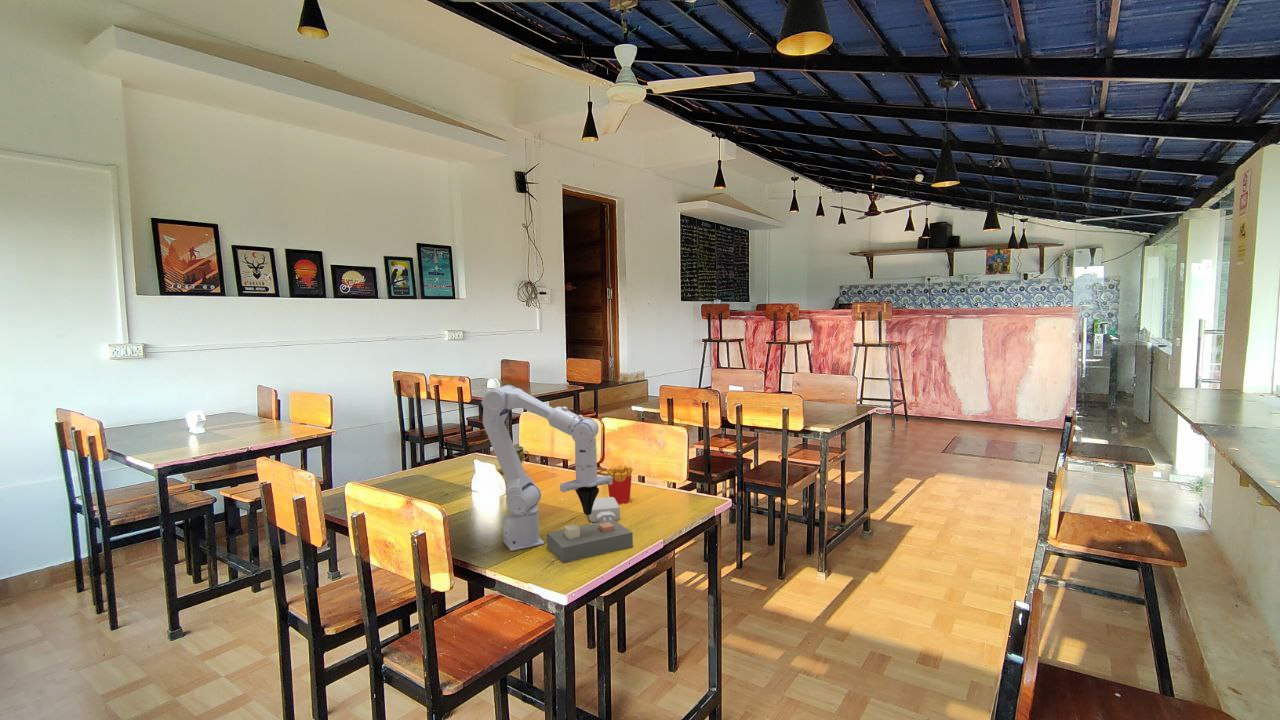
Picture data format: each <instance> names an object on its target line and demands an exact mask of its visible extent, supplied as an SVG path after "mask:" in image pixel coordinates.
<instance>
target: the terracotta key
mask: <svg viewBox="0 0 1280 720" xmlns="http://www.w3.org/2000/svg"><path fill="white" fill-rule="evenodd" d="M598 527H599V530H600V531H601V532H603V533H604V532H608V531H613V530H614V526H613V525H612V524H611V523H609V522H608V523H603V524H598Z"/></svg>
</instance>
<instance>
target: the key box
mask: <svg viewBox="0 0 1280 720" xmlns="http://www.w3.org/2000/svg"><path fill="white" fill-rule="evenodd" d="M608 522H609V523H611V524H612V525H613V526H614V530H613V531H608V532H604V533H603V532H601V531H600V530H599V527H598V524H603V523H608ZM577 526H578V525H577ZM578 527H579V528H580V538H576V539H571V540H568V539H566V538H565V537H564V528H563V529H560V530H553V531H550V532H546V544H547V546H546V547H547V549H549V551H550V552H552V553H553V554H554V556H556V558H557V559H559V560H560V562H562V563H563V564H564V563H569V562H574V561H577V560H581V559H582V560H583V559H586V558H590V557H595V556H598V555H604V554H607V553H612V552H616V551H621V550H625V549H630V548H633V547H634V544H633V543H634V540H633V538H634V537H633V531H631V530H629V528H626V527H625V526H624V525H623V524H620V523H619V522H618V521H617V520H614V519H612V520H608V521H603V522H592V523H589V524H584V525H579V526H578ZM629 547H630V548H629Z"/></svg>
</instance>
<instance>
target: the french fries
mask: <svg viewBox="0 0 1280 720" xmlns="http://www.w3.org/2000/svg"><path fill="white" fill-rule="evenodd" d="M606 472H607V473H606V474H607V476H611V477H612V482H613V484H610V485H609V484H607V487H608V488H607V489H608V497H614V498H615V499H616V501H617V503H618V505H623V504H622V503H624V504H629V503H630V501H631V490H632V489H631V488H632V487H631V486H632V476H633V475H632V473H633V467H632V466H628V465H626V464H625V465H624V466H623V464H621V465H617V466H611V467H609V468H606Z"/></svg>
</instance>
